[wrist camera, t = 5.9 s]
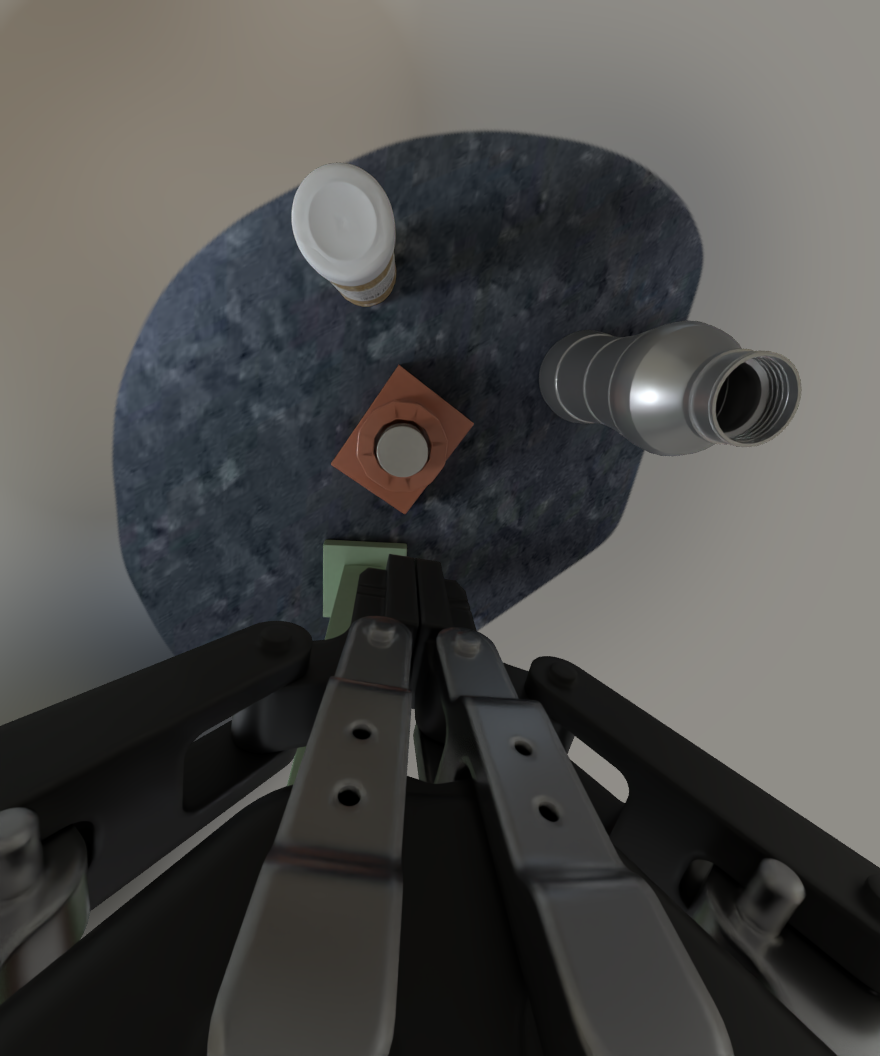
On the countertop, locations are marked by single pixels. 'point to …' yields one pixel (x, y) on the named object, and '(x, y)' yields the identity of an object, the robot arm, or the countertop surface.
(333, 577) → the shelf stand
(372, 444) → the orange button pad
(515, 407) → the countertop surface
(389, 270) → the sprinkles bottle
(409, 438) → the push button
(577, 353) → the grey bottle
